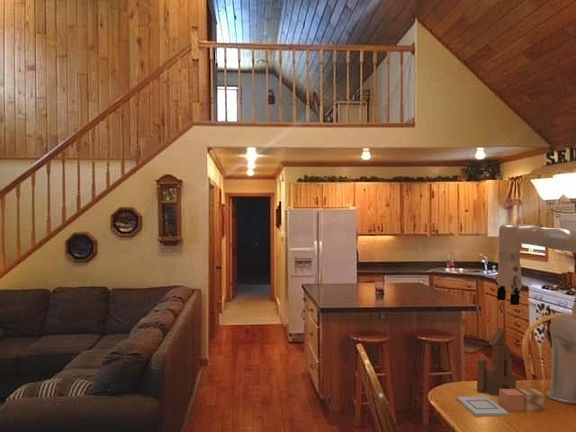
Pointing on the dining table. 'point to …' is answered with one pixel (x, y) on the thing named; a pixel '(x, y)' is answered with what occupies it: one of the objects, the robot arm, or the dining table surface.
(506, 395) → the rust block
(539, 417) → the dining table surface
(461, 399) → the board
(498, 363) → the wooden toy
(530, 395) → the birch block
